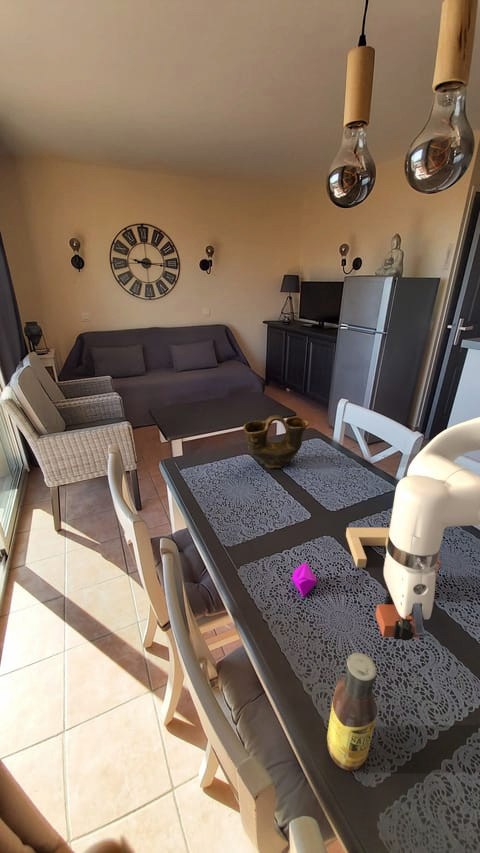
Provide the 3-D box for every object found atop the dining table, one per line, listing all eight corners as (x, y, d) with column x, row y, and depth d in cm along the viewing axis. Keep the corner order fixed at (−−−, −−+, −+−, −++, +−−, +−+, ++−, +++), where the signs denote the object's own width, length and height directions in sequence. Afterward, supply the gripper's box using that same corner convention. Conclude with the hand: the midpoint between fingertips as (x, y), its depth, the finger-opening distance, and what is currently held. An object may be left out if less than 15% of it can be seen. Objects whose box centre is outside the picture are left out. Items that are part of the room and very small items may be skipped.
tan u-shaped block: (388, 536, 102) (390, 527, 101) (404, 568, 91) (406, 559, 90) (345, 535, 103) (346, 527, 102) (356, 567, 92) (357, 558, 91)
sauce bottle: (349, 784, 54) (364, 704, 46) (318, 743, 58) (326, 664, 50) (376, 752, 57) (394, 672, 49) (344, 716, 62) (356, 638, 54)
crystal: (289, 582, 88) (289, 568, 86) (307, 574, 91) (308, 560, 89) (301, 598, 84) (302, 583, 82) (320, 589, 86) (321, 574, 84)
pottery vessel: (302, 453, 148) (304, 408, 140) (310, 467, 138) (313, 419, 130) (242, 458, 146) (241, 413, 138) (246, 472, 136) (244, 424, 128)
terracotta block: (410, 615, 68) (412, 604, 67) (419, 637, 64) (422, 626, 63) (375, 615, 68) (377, 604, 67) (382, 637, 64) (384, 625, 63)
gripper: (463, 590, 51) (439, 672, 58) (414, 514, 66) (401, 587, 74) (408, 590, 51) (392, 671, 59) (373, 515, 67) (363, 587, 74)
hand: (397, 623), depth 66 cm, fingers closed on terracotta block, 4 cm apart
